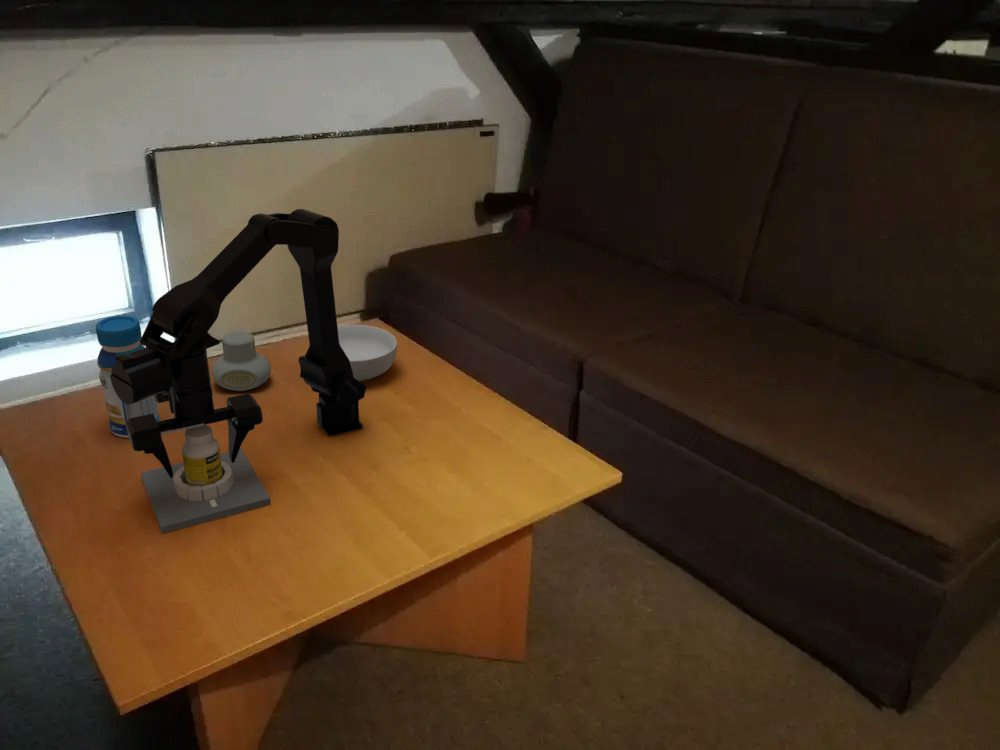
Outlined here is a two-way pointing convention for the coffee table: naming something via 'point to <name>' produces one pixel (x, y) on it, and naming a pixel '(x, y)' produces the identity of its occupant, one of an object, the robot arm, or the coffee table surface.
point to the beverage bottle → (115, 341)
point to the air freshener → (240, 363)
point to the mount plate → (204, 494)
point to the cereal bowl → (367, 349)
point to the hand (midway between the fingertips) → (202, 468)
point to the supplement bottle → (201, 457)
